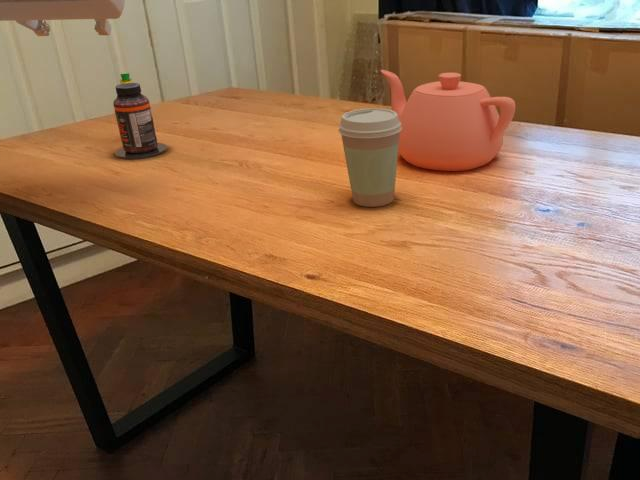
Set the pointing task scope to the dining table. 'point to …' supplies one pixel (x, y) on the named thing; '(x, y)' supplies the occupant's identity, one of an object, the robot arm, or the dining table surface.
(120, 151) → the coaster
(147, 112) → the supplement bottle
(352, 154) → the coffee cup
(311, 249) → the dining table surface
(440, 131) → the teapot
